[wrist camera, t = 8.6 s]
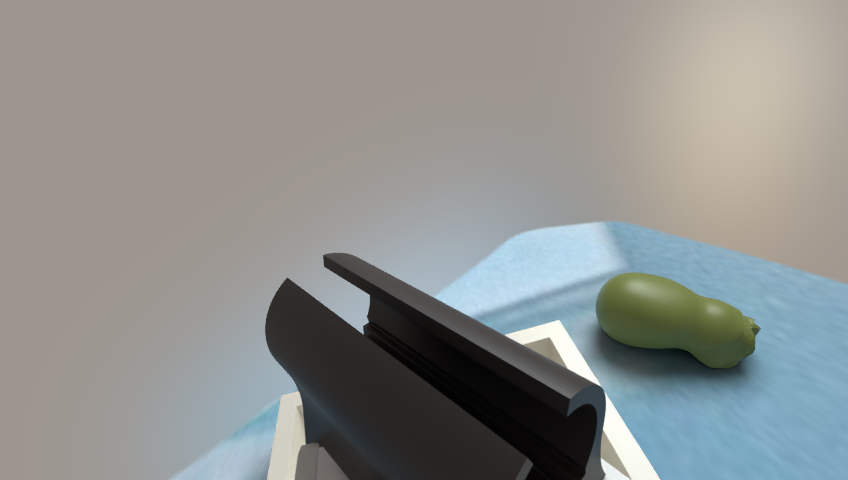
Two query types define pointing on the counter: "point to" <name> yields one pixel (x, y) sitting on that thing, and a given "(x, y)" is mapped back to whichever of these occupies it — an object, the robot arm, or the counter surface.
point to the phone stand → (430, 389)
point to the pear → (674, 319)
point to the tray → (541, 339)
